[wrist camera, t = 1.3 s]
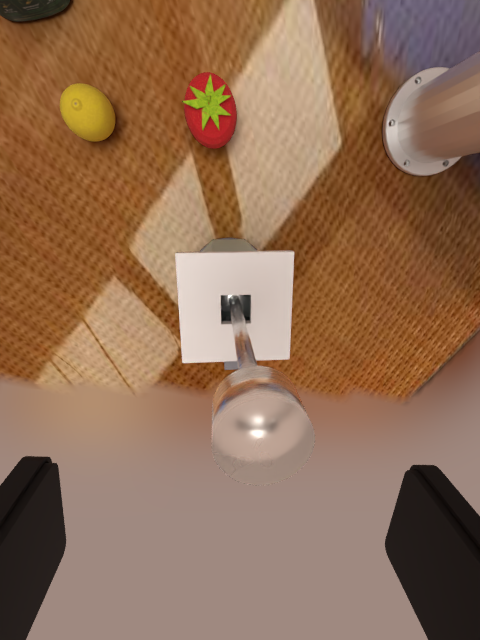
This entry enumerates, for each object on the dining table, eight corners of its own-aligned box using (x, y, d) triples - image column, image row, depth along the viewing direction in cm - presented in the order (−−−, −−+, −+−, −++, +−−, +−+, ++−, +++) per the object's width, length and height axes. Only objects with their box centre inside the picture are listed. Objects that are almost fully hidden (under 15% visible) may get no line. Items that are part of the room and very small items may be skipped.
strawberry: (195, 159, 45) (189, 145, 35) (181, 94, 42) (172, 60, 33) (238, 150, 45) (245, 135, 35) (228, 85, 42) (231, 49, 33)
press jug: (265, 326, 53) (288, 379, 36) (193, 328, 52) (183, 383, 35) (267, 237, 48) (294, 251, 32) (189, 238, 48) (175, 253, 31)
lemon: (118, 152, 44) (98, 140, 36) (74, 138, 43) (44, 123, 35) (126, 105, 42) (106, 82, 35) (80, 90, 41) (50, 64, 34)
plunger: (270, 262, 36) (365, 354, 13) (268, 331, 39) (346, 510, 16) (195, 263, 36) (160, 361, 13) (199, 333, 38) (174, 522, 15)
